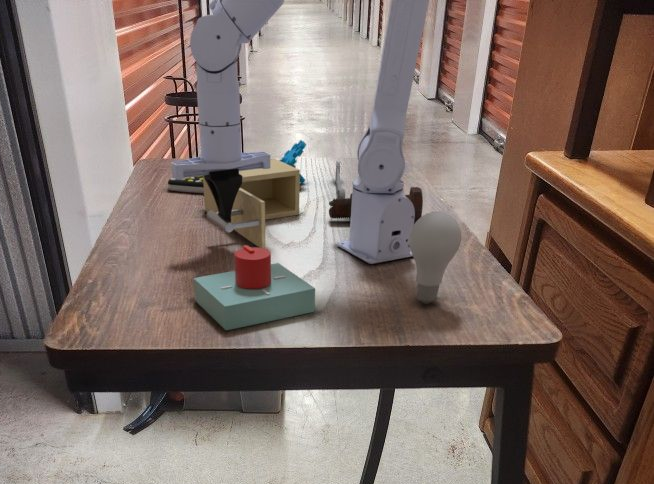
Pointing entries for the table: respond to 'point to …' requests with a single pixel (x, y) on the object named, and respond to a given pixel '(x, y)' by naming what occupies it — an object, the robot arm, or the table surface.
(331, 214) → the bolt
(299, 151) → the blue jagged angular piece
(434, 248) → the lightbulb
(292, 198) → the cabinet
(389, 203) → the robot arm
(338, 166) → the combination wrench
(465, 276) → the table surface
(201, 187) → the remote control
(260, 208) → the cabinet door
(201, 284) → the panel
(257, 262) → the cylinder
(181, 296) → the table surface
